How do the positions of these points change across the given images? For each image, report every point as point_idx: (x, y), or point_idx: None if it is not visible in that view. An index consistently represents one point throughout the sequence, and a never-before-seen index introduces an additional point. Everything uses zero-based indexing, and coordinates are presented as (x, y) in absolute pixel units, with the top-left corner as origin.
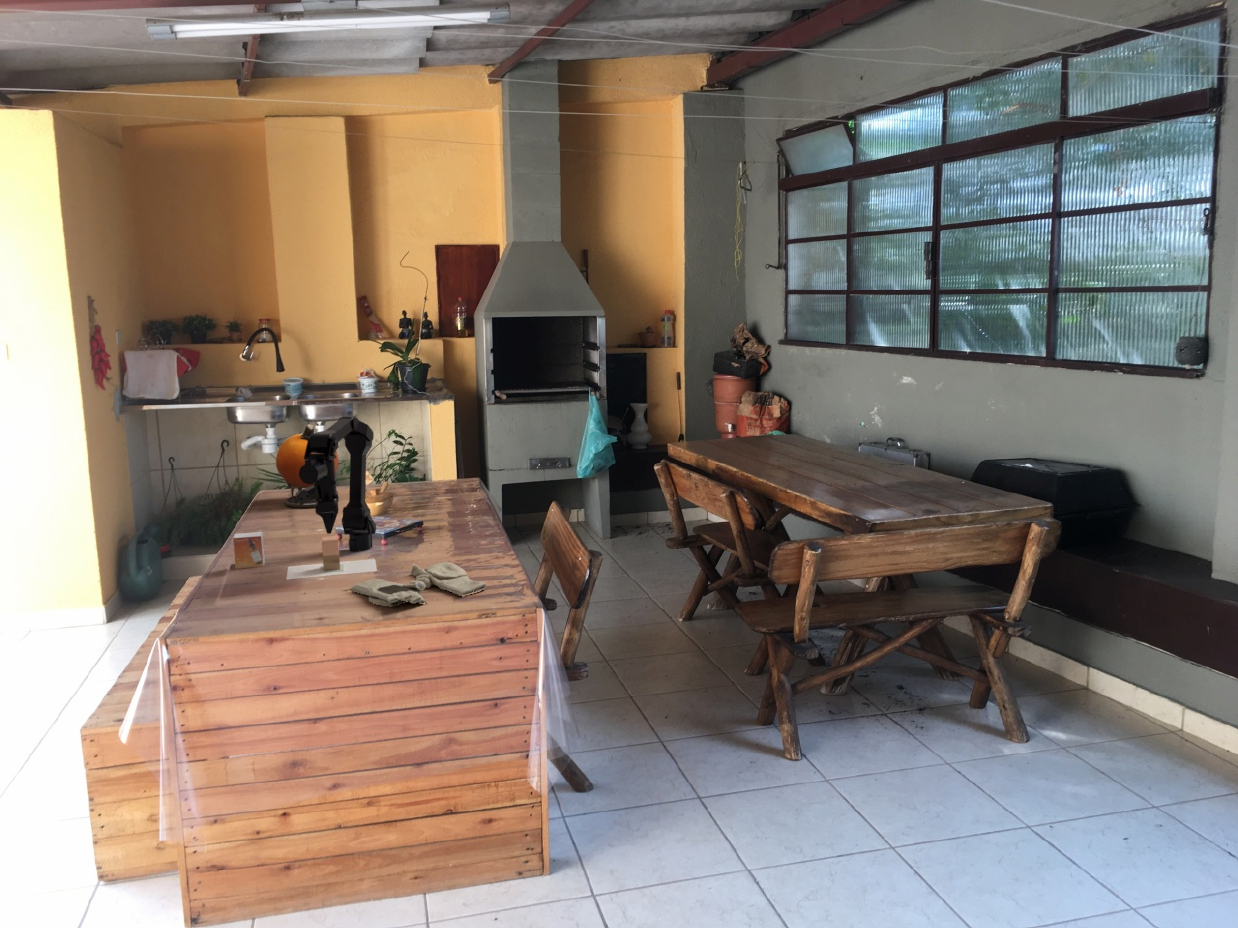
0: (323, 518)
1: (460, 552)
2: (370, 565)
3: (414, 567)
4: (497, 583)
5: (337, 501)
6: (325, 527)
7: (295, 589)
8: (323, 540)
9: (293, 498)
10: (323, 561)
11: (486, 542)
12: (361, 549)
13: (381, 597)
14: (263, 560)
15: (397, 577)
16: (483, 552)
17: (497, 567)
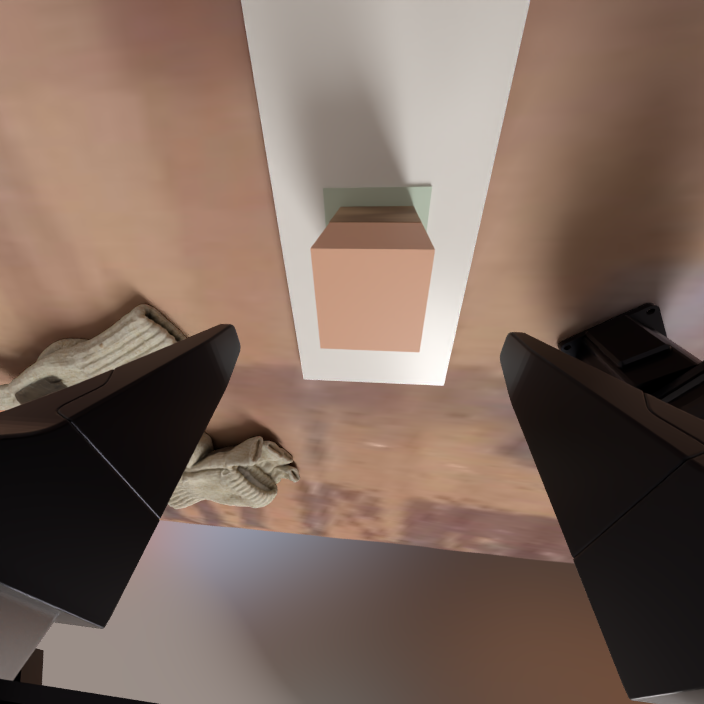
0: (9, 422)
1: (433, 510)
2: (369, 368)
3: (246, 457)
4: (221, 510)
5: (642, 700)
6: (164, 349)
7: (141, 48)
8: (319, 261)
9: None
10: (334, 216)
11: (480, 542)
12: (585, 360)
13: (18, 376)
14: None
15: (275, 407)
16: (412, 529)
17: (310, 524)
